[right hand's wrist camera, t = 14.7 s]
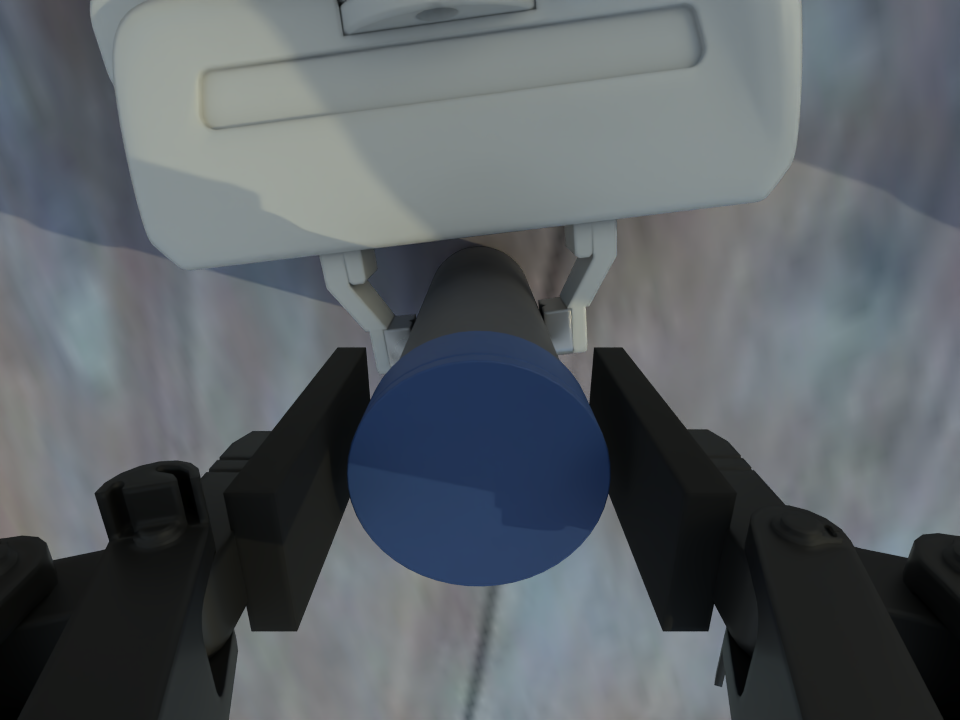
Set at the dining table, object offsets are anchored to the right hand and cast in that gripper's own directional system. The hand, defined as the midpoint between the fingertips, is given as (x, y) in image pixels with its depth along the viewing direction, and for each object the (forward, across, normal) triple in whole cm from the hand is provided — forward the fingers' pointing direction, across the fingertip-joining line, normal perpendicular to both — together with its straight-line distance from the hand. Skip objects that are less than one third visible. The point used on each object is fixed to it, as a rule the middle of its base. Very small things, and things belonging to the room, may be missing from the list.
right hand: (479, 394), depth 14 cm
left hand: (+5, 0, -1) cm, 5 cm away
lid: (-4, 0, 0) cm, 4 cm away
